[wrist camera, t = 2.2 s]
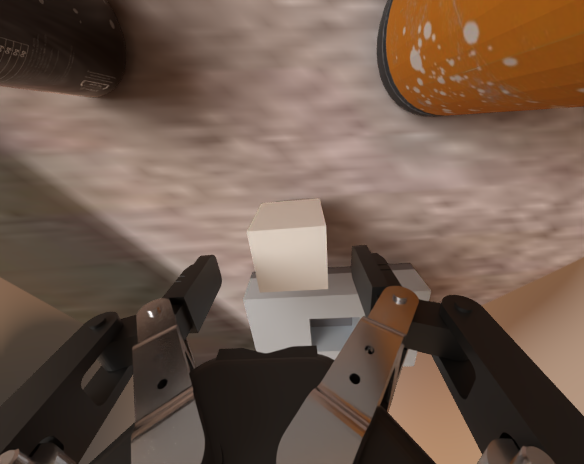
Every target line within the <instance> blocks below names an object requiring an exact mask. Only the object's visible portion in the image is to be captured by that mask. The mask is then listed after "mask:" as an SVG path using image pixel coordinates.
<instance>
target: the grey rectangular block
mask: <svg viewBox="0 0 584 464" xmlns="http://www.w3.org/2000/svg"><path fill="white" fill-rule="evenodd" d="M388 265H389V267H390V268H391V270H392V271H393V273H394V274H395V276H396V277H397V279H398V281H399V282H400V284H401V285H402V287H405V288H407V289H409V290H411V291H413V292H414V293H415V294H416V295H417V297H418V299H421V300H424V301H429V299H430V294H431V290H430V288H429V287H428V286H427V284H426V283H425V282H424V281H423V279H422V278H421V277H420V276H419V274H418V273H417V272H416V270H415V269H414V268H413V267H412V265H411V264H410V263H405V264H388ZM243 301H244V305H245V309H246V313H247V317H248V321H249V324H250V328H251V332H252V336H253V340H254V344H255V347H256V351H257V352H262V353H270V352H274V351H278V350H281V349H285V348H288V347H292V346H315V345H317V354H321V355H324V356H327V357H329V358H331V359H334V360H335V359H336V357H337V356H338V354H339V353H340V351H341V349H342V348H343V346H344V344H345V343H346V341H347V340H348V338H349V336H350V335H351V333H352V332H353V330H354V328H355V327H356V325H357V324H358V322H359V320H360V319H361V318H362V317H363V316H365V313H364V310H363V308H362V305H361V302H360V299H359V296H358V293H357V290H356V288H355V285H354V282H353V279H352V273H351V267H336V268H328V289H321V290H301V291H282V292H262V293H260V292H259V287H258V282H257V278H256V273H255V272H252V275H251V278H250V281H249V284H248V287H247V290H246V293H245V296H244V299H243ZM365 317H366V316H365ZM416 355H417V351H415V350H411V349H409V350H408V353H407V356H406V358H405V361H404V364H403V366H414V363H415V360H416Z"/></svg>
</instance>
